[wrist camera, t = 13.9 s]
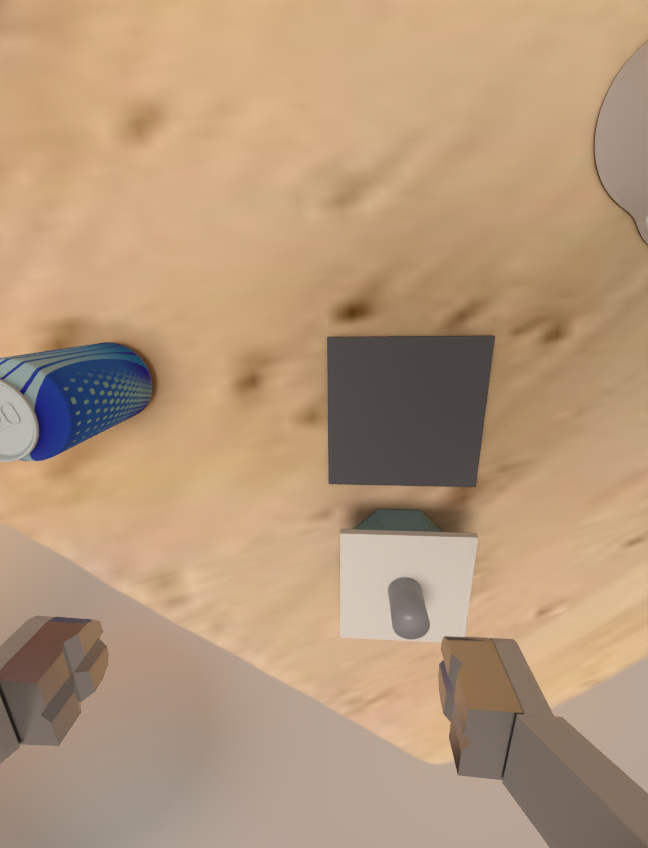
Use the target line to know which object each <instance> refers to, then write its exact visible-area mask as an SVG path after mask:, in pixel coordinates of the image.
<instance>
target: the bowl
mask: <svg viewBox="0 0 648 848" xmlns="http://www.w3.org/2000/svg"><path fill="white" fill-rule="evenodd" d="M355 530H389V531H424V532H442V531H441V530H440V529H439V528H438V527H437V526H436V525H435V524H434V523H433V522H432V521H431V520H430V519H429V518H428V517H427V516H426V515H425V514H424V513H423V512H421V510H397V509H378V510H377V511H376V512H374V513H373V514H372V515H371V516H369V517H368V518H367V519H366V520H365V521H363V522H362V523H361V524H360V525H359V526H357V527H356V528H355Z"/></svg>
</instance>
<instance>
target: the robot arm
mask: <svg viewBox="0 0 648 848" xmlns="http://www.w3.org/2000/svg"><path fill="white" fill-rule="evenodd" d="M595 158H596V165H597V169H598V173H599V176H600V179H601V181H602V183H603V185H604V187H605V189H606V190H607V192H608V193H609V195H610V196H611V197H612V198H613V199H614V201H615V202H617V203H618V204H619V205H620V206H621V207H622V208H624V209H625V210H626V211H627V212H629V213H630V214H631V215H632V217H633V218H634V219H635V221H636V224H637V227H638V229H639V232H640V234H641V236H642V238H643V239H644V241H645V242H646V243H647V244H648V41H646V42H645V43H644V44H643V45H642V46H641V47H640V48H639V49H638V50H637V51H636V52H635V53H634V54H633V55H632V56H631V57H630V59H629V60H628V61H627V62H626V64H625V65H624V66H623V67H622V69H621V70H620V72H619V73H618V75H617V76H616V78H615V80H614V81H613V83H612V85H611V87H610V89H609V91H608V93H607V95H606V97H605V100H604V102H603V105H602V108H601V111H600V114H599V118H598V122H597V127H596V134H595ZM102 633H103V630H102V626H101V623H100V621H97V620H90V619H77V618H64V617H47V616H35V617H33V618H31V619H29V620H27V621H26V622H25V623H24V624H23V625H22V626H21V627H20V628H19V629H18V630H17V631H16V632H15V633H14V634H13V635H12V636H10V638H8V639H7V640H6V641H5V642H4V643H3V644H2V645H1V646H0V763H1V762H3V761H4V760H5V759H6V758H7V757H8V756H10V755H11V754H12V753H13V752H15V751H16V750H17V749H18V748H19V747H20V745H19V744H27V745H54V746H56V745H57V746H59V745H60V743H61V741H62V740H63V739H64V737H65V736H66V734H67V733H68V731H69V730H70V728H71V727H72V725H73V724H74V722H75V721H76V719H77V718H78V716H79V715H80V713H81V702H82V701H83V700H84V699H86V698H87V697H88V696H90V695H91V694H92V693H94V692H95V691H96V689H97V687H98V686H99V684H100V682H101V681H102V680H103V677H104V674H105V671H106V669H107V666H108V656H109V654H108V649H107V646H106V645H105V644H104V643H103V642H102V641H101V640H100V639H99V637H100V636H101V634H102ZM441 651H442V655H443V659H444V660H443V661H442V662H441V663H440V664H439V674H438V678H439V692H440V699H441V704H442V709H443V713H444V715H445V716H446V717H447V718H448V720H449V721H450V722H451V725H450V733H449V739H450V744H451V748H452V752H453V756H454V760H455V765H456V769H457V773H458V775H461V776H470V777H480V778H489V779H498V780H503V782H502V783H503V784H504V786H505V787H506V788H507V790H508V791H509V792H510V794H511V795H512V796H513V798H514V799H515V800H516V802H517V803H518V805H519V806H520V807H521V809H522V810H523V812H524V813H525V814H526V816H527V817H528V818H529V820H530V821H531V822H532V824H533V825H534V826H535V828H536V829H537V831H538V832H539V833H540V835H541V836H542V837H543V839H544V840H545V841H546V843H547V844H548V846H549V847H550V848H648V793H647V792H645V791H644V790H643V789H642V788H641V787H640V786H639V785H637V784H636V783H635V782H634V781H633V780H632V779H631V778H630V777H628V775H626V774H625V773H624V772H623V771H622V770H620V768H619V767H617V766H616V765H615V764H614V763H613V762H612V761H611V760H609V759H608V758H607V757H606V756H605V755H604V754H603V753H602V752H600V751H599V750H598V749H597V748H596V747H595V746H594V745H593V744H592V743H590V742H589V741H588V740H587V739H586V738H585V737H584V736H583V735H581V734H580V733H579V732H578V731H577V730H576V729H575V728H574V727H573V726H571V725H570V724H569V723H568V722H567V721H566V720H565V719H563V718H562V717H556V716H554V715H553V713H552V711H551V709H550V707H549V705H548V703H547V701H546V699H545V697H544V695H543V693H542V691H541V689H540V687H539V685H538V683H537V681H536V679H535V677H534V675H533V673H532V671H531V670H530V668H529V666H528V664H527V662H526V660H525V658H524V656H523V654H522V652H521V650H520V648H519V646H518V644H517V643H516V642H515V641H514V640H513V639H498V638H489V639H488V638H479V637H451V636H444V637H443V639H442V645H441Z"/></svg>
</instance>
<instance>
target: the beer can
mask: <svg viewBox="0 0 648 848" xmlns="http://www.w3.org/2000/svg"><path fill="white" fill-rule="evenodd" d="M151 395H152V379H151V375H150V372H149V370H148V368H147V366H146V365H145V363H144V362H143V360H142V359H141V358H140V357H139V356H138V355H137V354H136V353H135V352H133V351H132V350H131V349H129V348H127V347H125V346H123V345H120V344H116V343H99V344H92V345H86V346H79V347H72V348H65V349H59V350H52V351H45V352H39V353H32V354H25V355H19V356H12V357H5V358H0V462H12V461H16V460H23V461H41V460H45V459H48V458H51V457H54V456H56V455H58V454H60V453H62V452H63V451H65V450H67V449H69V448H71V447H73V446H75V445H77V444H79V443H81V442H83V441H85V440H87V439H89V438H91V437H93V436H95V435H97V434H99V433H101V432H103V431H105V430H107V429H109V428H111V427H113V426H115V425H117V424H119V423H121V422H123V421H125V420H126V419H128V418H130V417H132V416H134V415H136V414H138V413H140V412H141V411H142V410H143V409H144V408H145V407H146V406H147V404H148V403H149V401H150V398H151Z"/></svg>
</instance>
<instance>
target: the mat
mask: <svg viewBox="0 0 648 848" xmlns="http://www.w3.org/2000/svg"><path fill="white" fill-rule="evenodd" d="M494 339H495V336H393V337H327V355H328V458H329V484H352V485H401V486H451V487H476V480H477V473H478V465H479V457H480V449H481V441H482V433H483V425H484V417H485V409H486V402H487V394H488V386H489V378H490V370H491V362H492V354H493V346H494Z"/></svg>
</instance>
